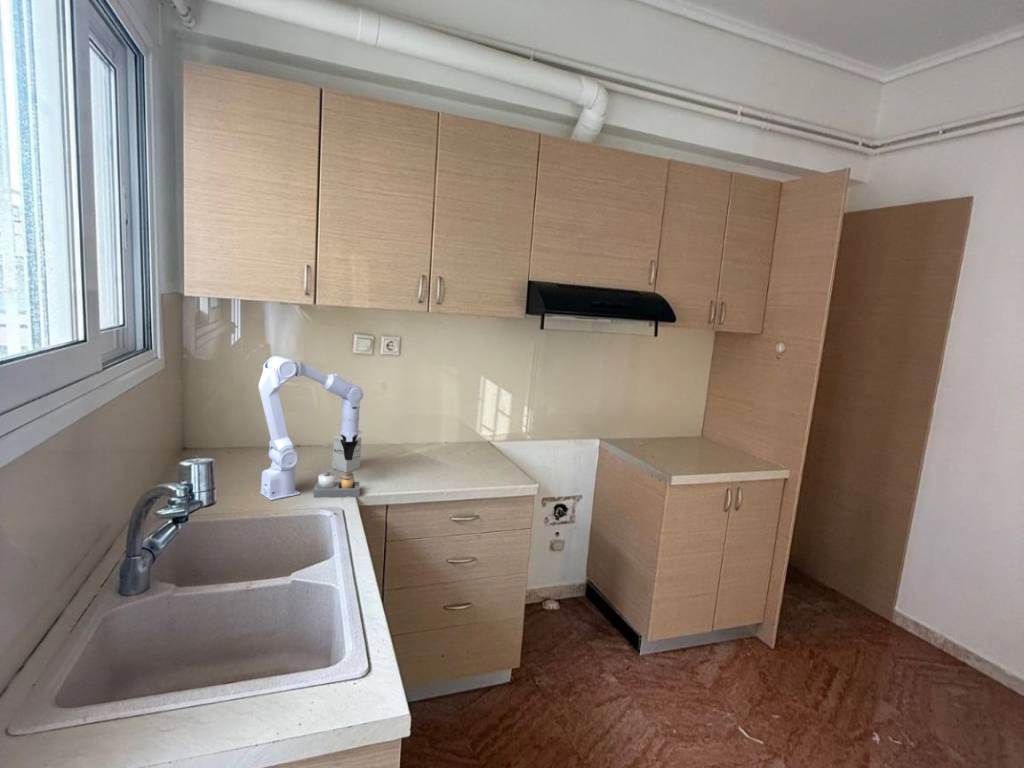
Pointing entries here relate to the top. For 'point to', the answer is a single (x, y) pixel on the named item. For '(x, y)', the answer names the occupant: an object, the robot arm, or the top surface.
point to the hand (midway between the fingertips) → (348, 456)
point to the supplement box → (339, 458)
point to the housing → (333, 487)
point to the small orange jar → (347, 480)
